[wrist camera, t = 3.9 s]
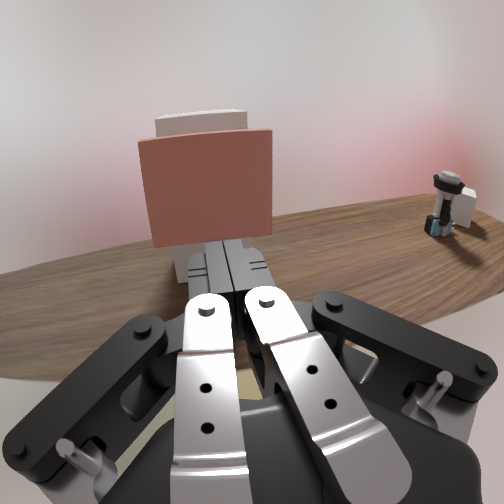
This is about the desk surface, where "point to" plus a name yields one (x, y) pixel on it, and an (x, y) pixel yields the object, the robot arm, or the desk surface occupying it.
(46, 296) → the desk surface
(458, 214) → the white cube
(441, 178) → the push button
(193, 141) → the plug
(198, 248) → the socket block
